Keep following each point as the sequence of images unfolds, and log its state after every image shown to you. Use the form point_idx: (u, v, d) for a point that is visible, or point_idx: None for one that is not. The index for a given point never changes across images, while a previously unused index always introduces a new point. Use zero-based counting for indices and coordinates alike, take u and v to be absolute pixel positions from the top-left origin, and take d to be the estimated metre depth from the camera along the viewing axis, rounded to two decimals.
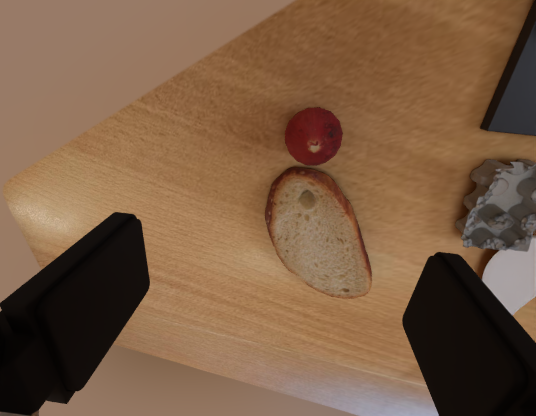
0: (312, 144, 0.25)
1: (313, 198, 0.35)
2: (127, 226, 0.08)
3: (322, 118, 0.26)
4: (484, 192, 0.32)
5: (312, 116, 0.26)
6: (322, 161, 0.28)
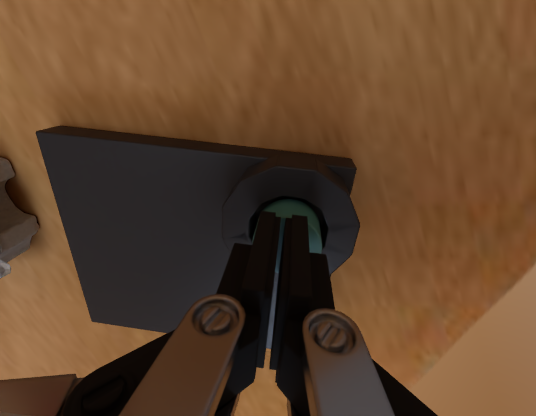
0: None
1: None
2: (279, 223, 0.09)
3: None
4: None
5: None
6: None
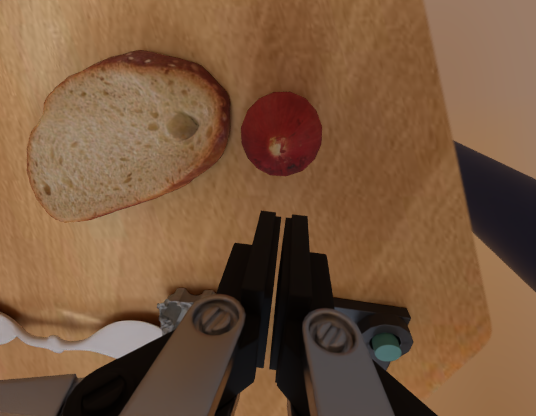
0: (282, 146, 0.16)
1: (185, 134, 0.23)
2: (279, 223, 0.09)
3: (312, 152, 0.19)
4: None
5: (315, 137, 0.18)
6: (250, 155, 0.19)
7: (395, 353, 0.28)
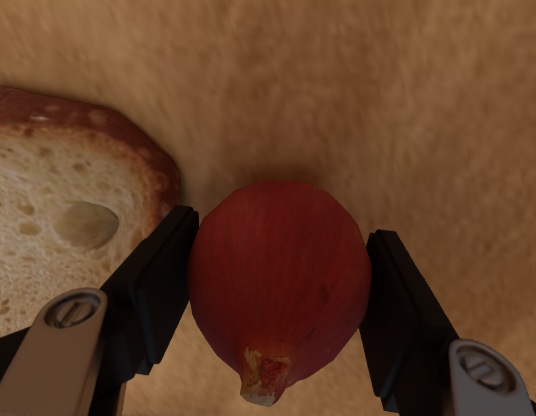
0: (279, 395, 0.05)
1: (99, 234, 0.12)
2: (190, 217, 0.09)
3: None
4: None
5: (362, 308, 0.07)
6: None
7: None
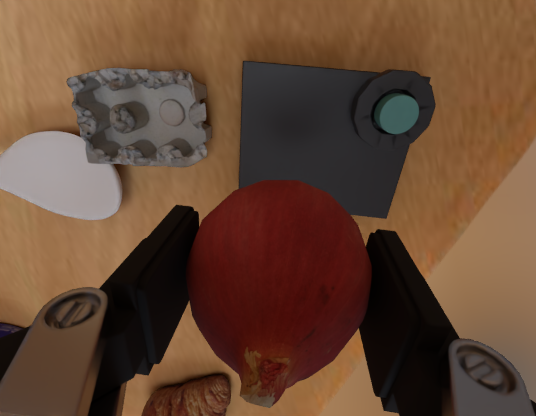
0: (279, 395, 0.05)
1: None
2: (190, 217, 0.09)
3: None
4: None
5: (362, 309, 0.07)
6: (205, 337, 0.08)
7: (410, 114, 0.19)
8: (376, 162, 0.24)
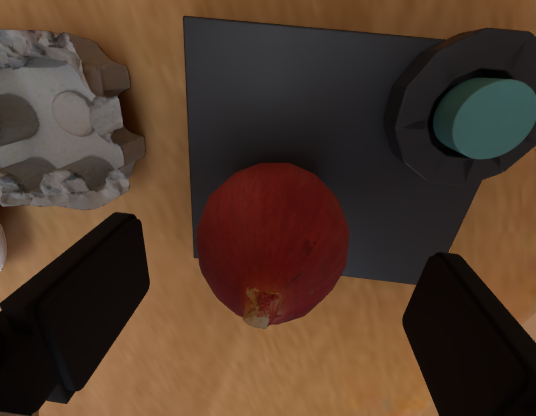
0: (272, 317, 0.07)
1: None
2: (127, 226, 0.08)
3: (332, 286, 0.10)
4: (33, 67, 0.12)
5: (340, 263, 0.09)
6: (213, 291, 0.10)
7: (518, 120, 0.09)
8: (423, 201, 0.14)
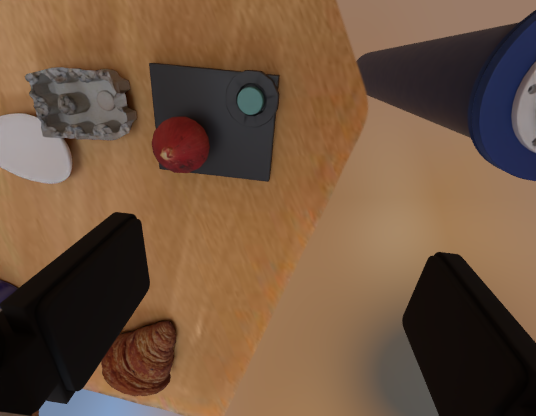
0: (167, 154, 0.26)
1: None
2: (127, 226, 0.08)
3: (196, 156, 0.28)
4: (92, 81, 0.31)
5: (197, 147, 0.28)
6: (157, 159, 0.28)
7: (257, 100, 0.28)
8: (253, 137, 0.32)
